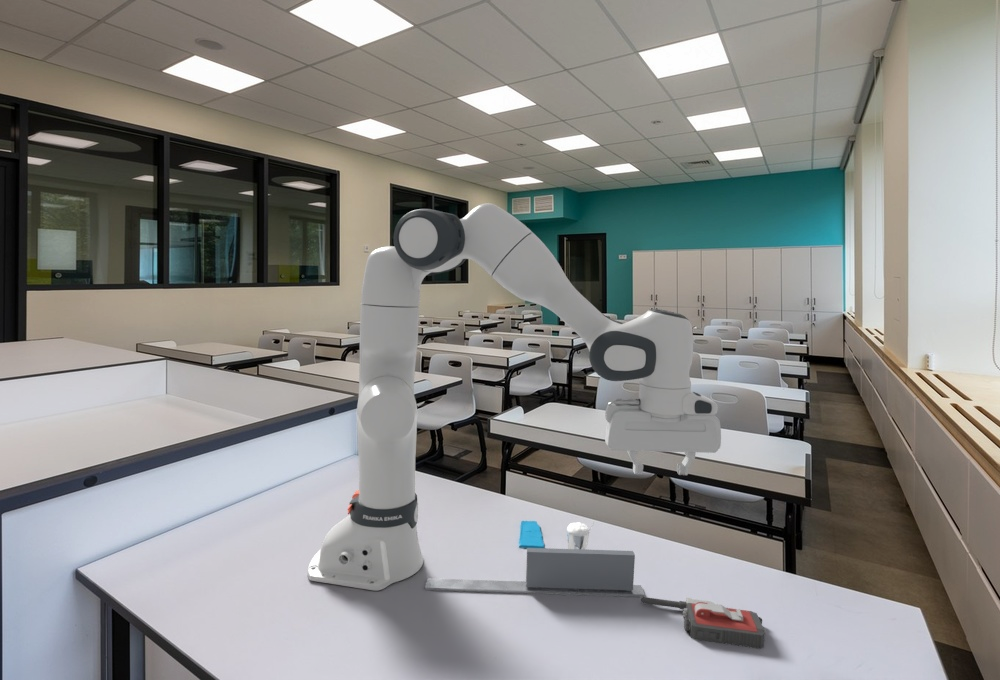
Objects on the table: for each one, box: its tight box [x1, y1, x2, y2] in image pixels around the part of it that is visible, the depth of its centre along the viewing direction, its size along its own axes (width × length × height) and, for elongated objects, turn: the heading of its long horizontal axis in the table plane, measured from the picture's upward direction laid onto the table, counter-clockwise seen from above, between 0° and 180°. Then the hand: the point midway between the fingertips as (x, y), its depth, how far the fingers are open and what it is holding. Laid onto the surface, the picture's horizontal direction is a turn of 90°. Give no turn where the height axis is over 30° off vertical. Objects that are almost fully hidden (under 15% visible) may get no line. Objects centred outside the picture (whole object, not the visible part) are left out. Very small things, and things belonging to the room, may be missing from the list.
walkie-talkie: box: [640, 596, 766, 650], centre depth 90 cm, size 9×4×20 cm
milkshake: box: [566, 521, 595, 550], centre depth 106 cm, size 5×5×10 cm
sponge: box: [518, 520, 546, 549], centre depth 120 cm, size 2×12×6 cm
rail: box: [424, 578, 646, 598], centre depth 99 cm, size 41×3×1 cm, turn 89°
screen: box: [525, 547, 636, 590], centre depth 99 cm, size 20×2×7 cm, turn 89°
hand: (659, 473), depth 96 cm, fingers open, 7 cm apart
